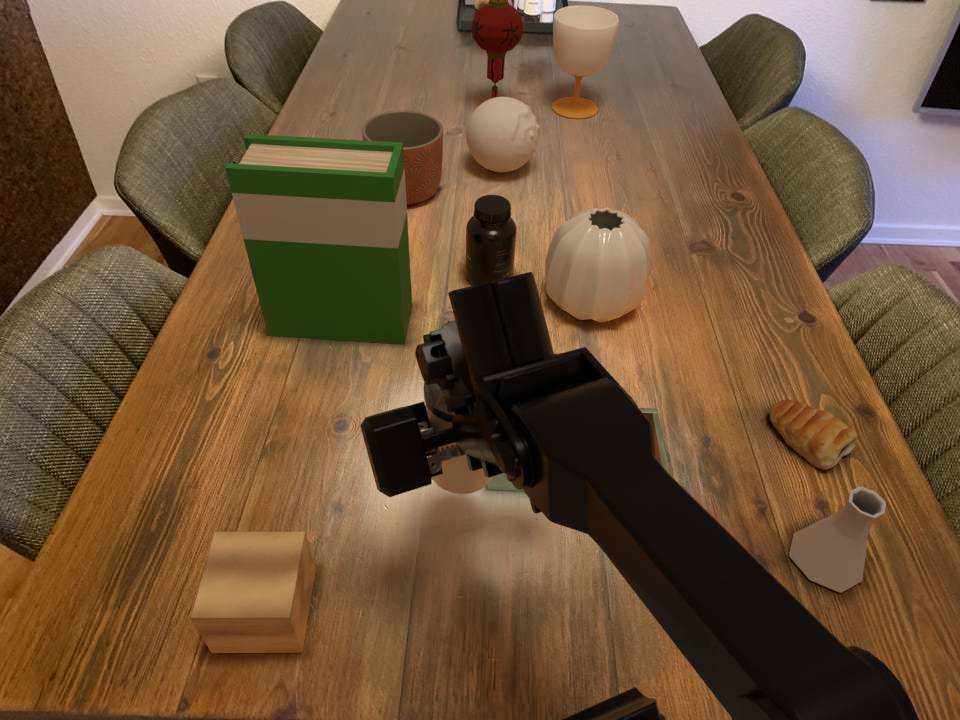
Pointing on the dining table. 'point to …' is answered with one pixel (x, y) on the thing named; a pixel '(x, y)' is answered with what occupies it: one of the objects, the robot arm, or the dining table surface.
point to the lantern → (497, 35)
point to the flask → (838, 542)
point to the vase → (598, 264)
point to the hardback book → (326, 236)
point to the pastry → (813, 432)
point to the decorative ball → (502, 134)
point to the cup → (582, 51)
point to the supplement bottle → (490, 240)
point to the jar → (455, 469)
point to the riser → (255, 593)
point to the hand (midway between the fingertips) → (457, 420)
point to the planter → (412, 148)
